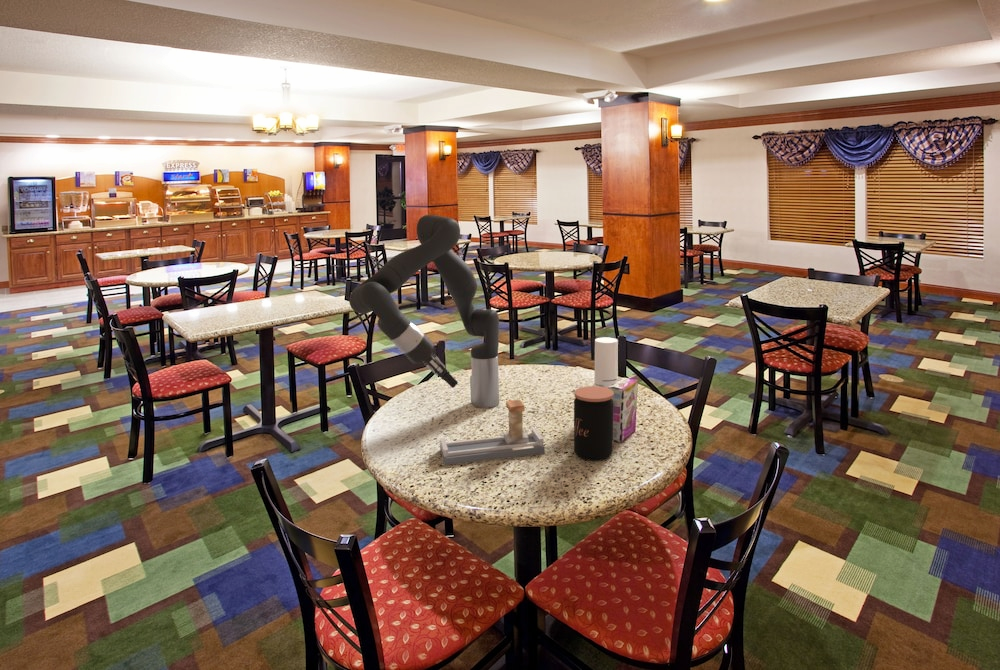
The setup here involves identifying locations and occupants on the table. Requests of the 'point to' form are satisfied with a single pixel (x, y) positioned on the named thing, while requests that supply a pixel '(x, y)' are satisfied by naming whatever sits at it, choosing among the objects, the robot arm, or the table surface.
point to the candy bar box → (624, 408)
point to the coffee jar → (593, 422)
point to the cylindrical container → (605, 361)
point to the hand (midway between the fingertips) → (454, 384)
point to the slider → (515, 423)
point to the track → (489, 449)
